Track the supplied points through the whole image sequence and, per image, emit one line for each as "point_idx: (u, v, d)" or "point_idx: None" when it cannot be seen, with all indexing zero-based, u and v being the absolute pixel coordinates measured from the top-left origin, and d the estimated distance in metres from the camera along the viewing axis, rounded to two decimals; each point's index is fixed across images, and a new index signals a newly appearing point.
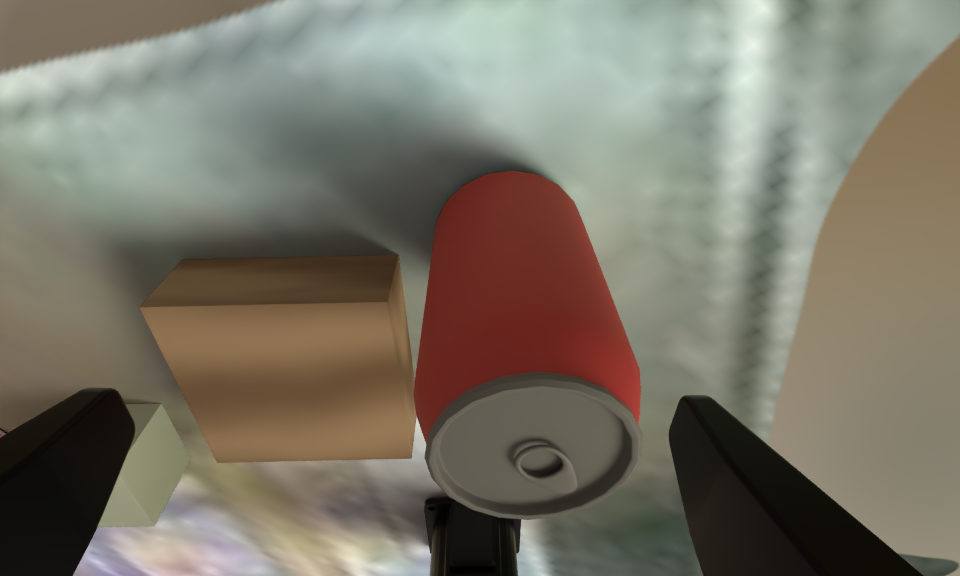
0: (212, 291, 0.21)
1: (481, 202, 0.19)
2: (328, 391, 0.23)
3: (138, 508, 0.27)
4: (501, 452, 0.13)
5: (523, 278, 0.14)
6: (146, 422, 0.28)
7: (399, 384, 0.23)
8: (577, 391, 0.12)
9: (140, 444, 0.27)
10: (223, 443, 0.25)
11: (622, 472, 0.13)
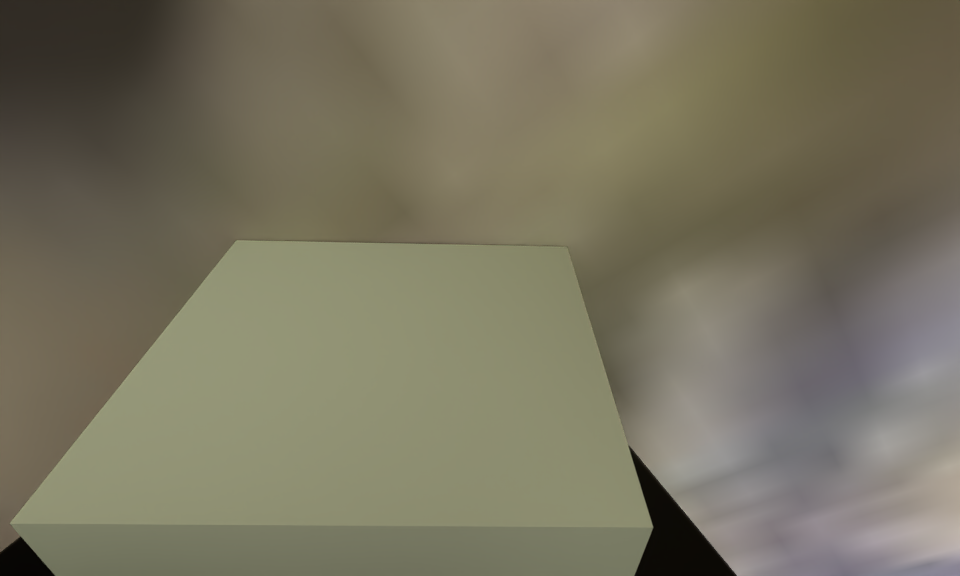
0: None
1: None
2: None
3: (436, 538, 0.04)
4: None
5: None
6: (191, 305, 0.06)
7: None
8: None
9: (184, 357, 0.05)
10: None
11: None
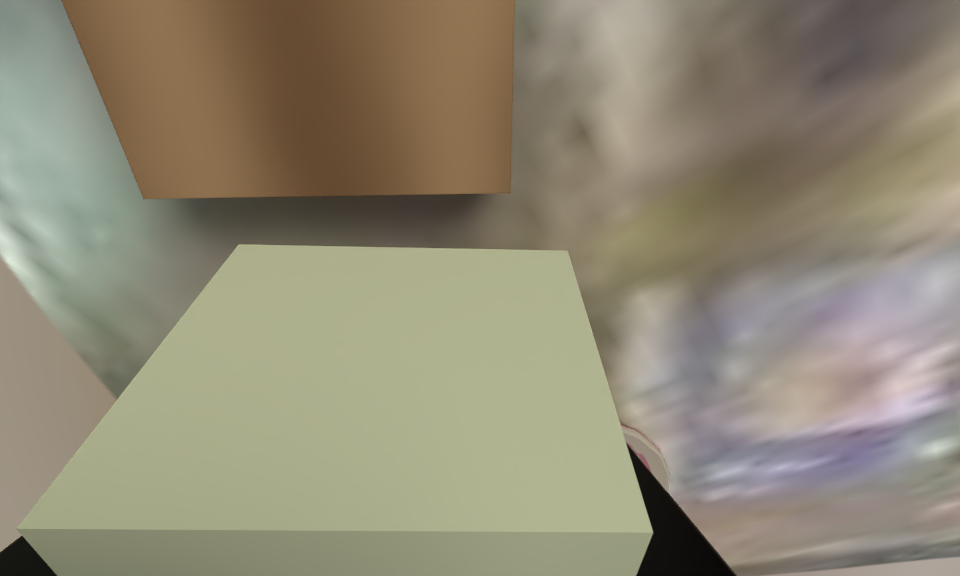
0: None
1: None
2: None
3: (439, 543, 0.04)
4: None
5: None
6: (195, 309, 0.06)
7: None
8: None
9: (188, 362, 0.06)
10: (454, 166, 0.13)
11: None
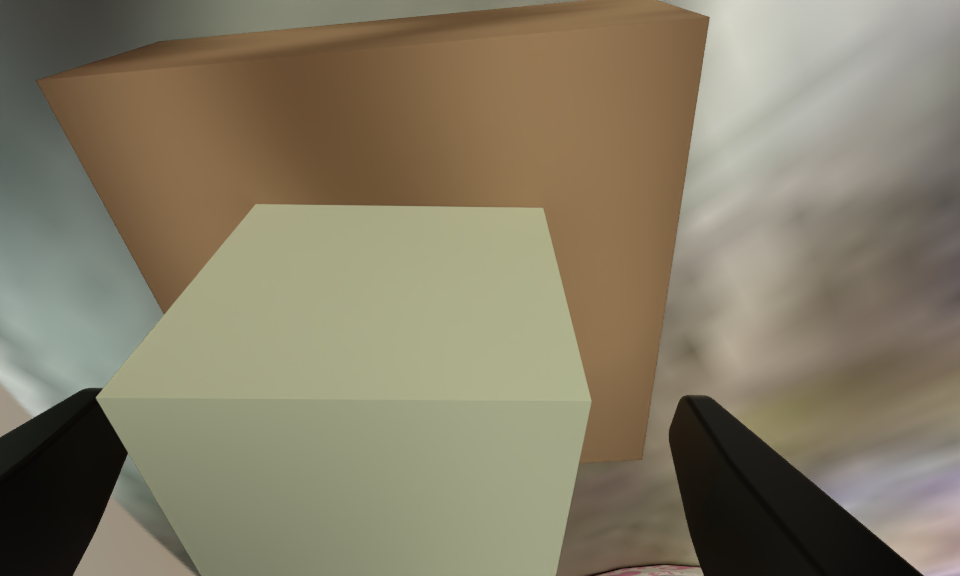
0: None
1: None
2: None
3: (423, 411, 0.05)
4: None
5: None
6: (221, 254, 0.08)
7: (343, 53, 0.07)
8: None
9: (219, 290, 0.07)
10: (583, 443, 0.12)
11: None
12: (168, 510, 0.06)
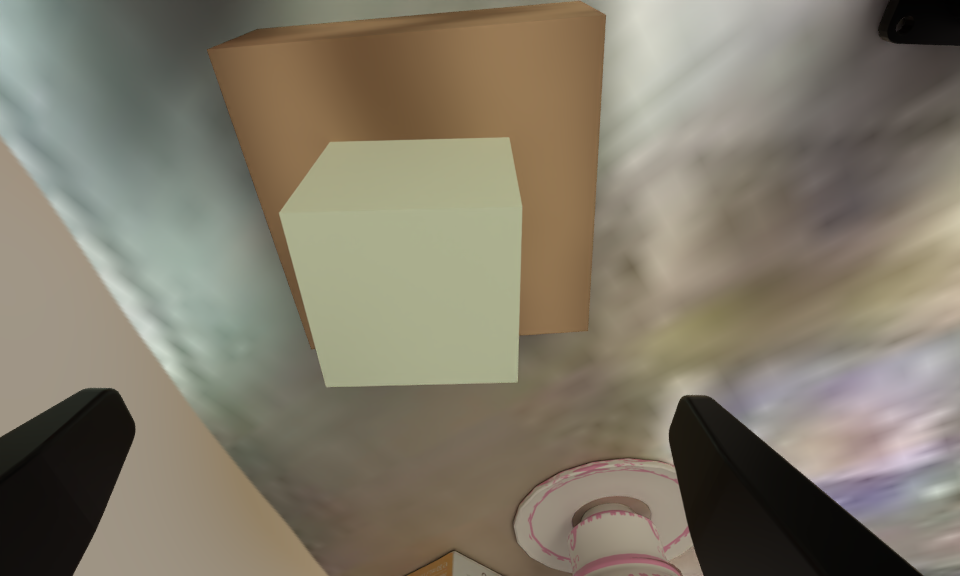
0: None
1: None
2: None
3: (439, 216, 0.10)
4: None
5: None
6: (316, 165, 0.13)
7: (391, 35, 0.13)
8: None
9: (323, 177, 0.12)
10: (545, 316, 0.18)
11: None
12: (303, 291, 0.12)
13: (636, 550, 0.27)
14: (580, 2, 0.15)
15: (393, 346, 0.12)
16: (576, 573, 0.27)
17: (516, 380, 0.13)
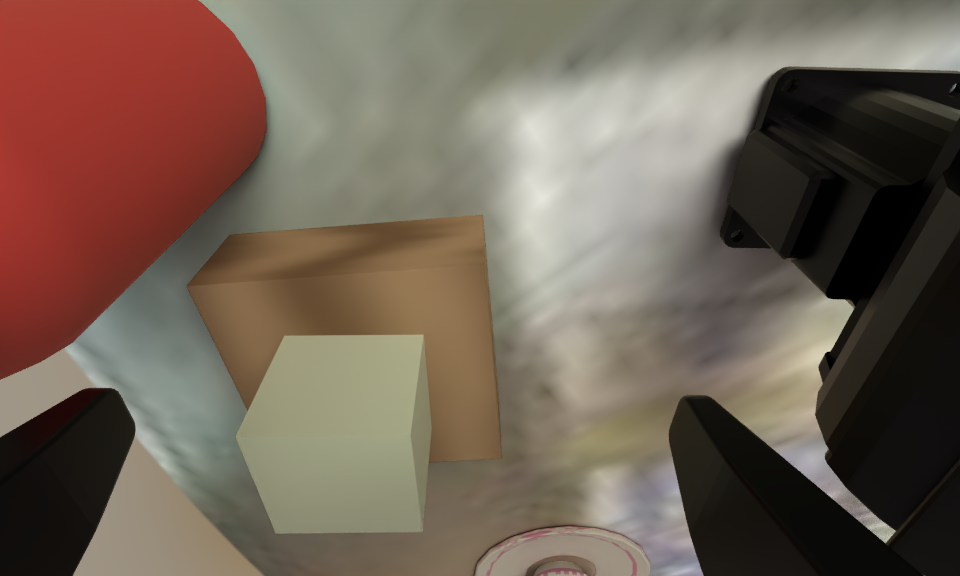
0: None
1: None
2: None
3: (351, 439, 0.15)
4: None
5: None
6: (271, 367, 0.17)
7: (324, 276, 0.17)
8: None
9: (272, 388, 0.16)
10: (465, 448, 0.22)
11: None
12: (255, 478, 0.16)
13: None
14: (481, 220, 0.19)
15: (325, 510, 0.17)
16: None
17: (421, 530, 0.17)
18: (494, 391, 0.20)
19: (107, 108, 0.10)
